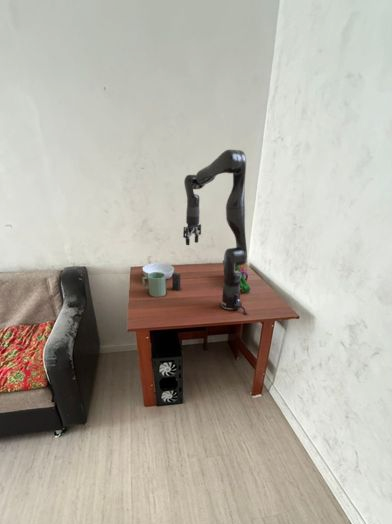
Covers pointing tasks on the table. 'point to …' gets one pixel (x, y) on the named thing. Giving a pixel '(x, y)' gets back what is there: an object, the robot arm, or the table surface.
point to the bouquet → (242, 278)
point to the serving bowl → (158, 269)
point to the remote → (176, 281)
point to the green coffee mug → (156, 284)
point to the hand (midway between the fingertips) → (192, 243)
